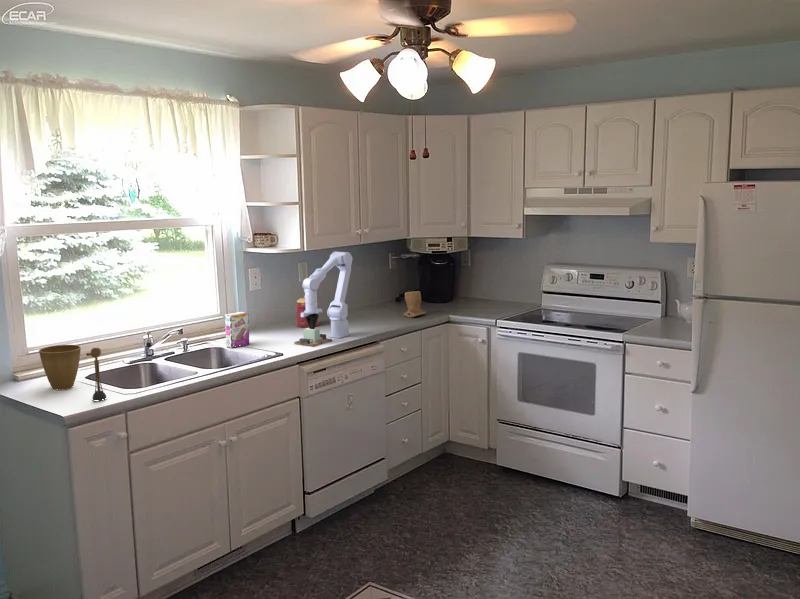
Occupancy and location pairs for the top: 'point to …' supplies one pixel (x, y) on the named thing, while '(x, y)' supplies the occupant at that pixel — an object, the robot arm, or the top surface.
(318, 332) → the module
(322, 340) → the rail board
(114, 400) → the top surface
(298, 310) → the canister
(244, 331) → the candy bar box
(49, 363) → the plant pot
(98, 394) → the wooden tabletop sculpture
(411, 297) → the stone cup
